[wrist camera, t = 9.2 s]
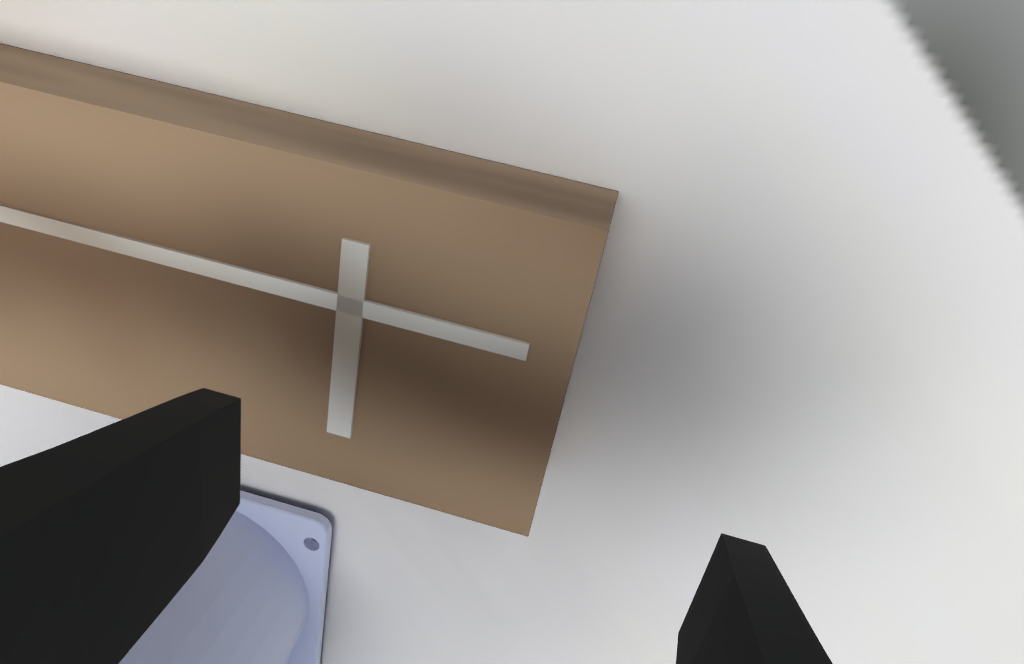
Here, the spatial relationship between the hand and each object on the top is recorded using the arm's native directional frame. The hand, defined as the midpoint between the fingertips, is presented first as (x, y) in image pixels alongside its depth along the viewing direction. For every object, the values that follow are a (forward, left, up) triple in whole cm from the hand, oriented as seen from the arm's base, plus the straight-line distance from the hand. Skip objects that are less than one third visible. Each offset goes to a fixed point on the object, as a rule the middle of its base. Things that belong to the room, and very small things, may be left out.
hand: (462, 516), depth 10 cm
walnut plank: (-1, +11, -8) cm, 14 cm away
